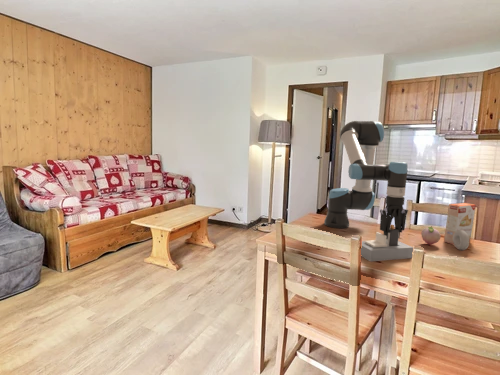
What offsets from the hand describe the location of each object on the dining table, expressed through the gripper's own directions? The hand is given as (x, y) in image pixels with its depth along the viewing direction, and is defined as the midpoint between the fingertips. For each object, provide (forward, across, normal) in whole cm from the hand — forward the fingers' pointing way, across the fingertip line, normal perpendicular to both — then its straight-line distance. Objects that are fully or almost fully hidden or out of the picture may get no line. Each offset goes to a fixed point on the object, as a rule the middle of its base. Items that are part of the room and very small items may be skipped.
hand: (390, 245), depth 139 cm
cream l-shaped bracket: (-1, -8, 0) cm, 8 cm away
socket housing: (+4, -4, 0) cm, 6 cm away
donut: (+5, +40, -1) cm, 40 cm away
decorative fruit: (+5, +31, +8) cm, 32 cm away
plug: (+2, 0, 0) cm, 2 cm away
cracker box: (+5, +50, +9) cm, 51 cm away
